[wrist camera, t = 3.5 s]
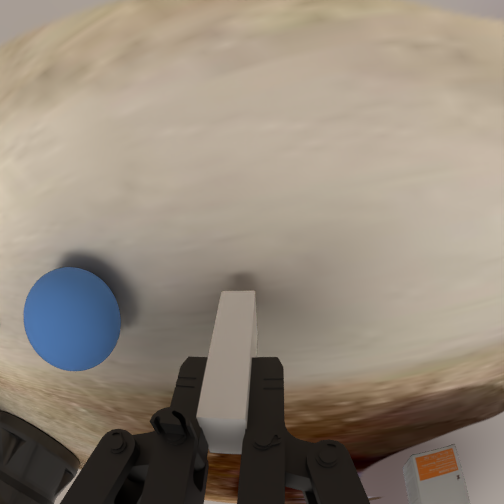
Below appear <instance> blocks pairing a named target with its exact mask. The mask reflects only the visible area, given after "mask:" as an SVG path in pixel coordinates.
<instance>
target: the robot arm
mask: <svg viewBox="0 0 504 504" xmlns="http://www.w3.org/2000/svg"><path fill="white" fill-rule="evenodd" d="M257 341H258V330H257V314H256V299H255V291H221V296H220V301H219V306H218V310H217V315H216V320H215V325H214V330H213V335H212V339H211V344H210V349H209V354H208V357H188V358H187V359H186V360H185V362H184V363H183V364H182V365H181V367H180V371H179V375H178V379H177V382H176V387H175V390H174V394H173V398H172V401H171V405H170V407H168V408H164V409H161V410H159V411H157V412H156V413H155V414H154V415H153V416H152V418H151V420H150V423H151V424H152V426H153V428H154V429H155V431H153V432H149V433H144V434H137V435H131V434H130V433H129V432H127V431H126V430H122V429H115V430H111V431H109V432H107V433H106V434H105V435H104V436H103V437H102V439H101V440H100V442H99V443H98V445H97V447H96V448H95V450H94V451H93V453H92V454H91V456H90V457H89V459H88V460H87V462H86V464H85V465H84V467H83V468H82V470H81V471H80V473H79V475H78V476H77V478H76V479H75V481H74V482H73V484H72V486H71V487H70V489H69V490H68V492H67V493H66V495H65V497H64V498H63V500H62V501H61V503H60V504H203V503H204V496H205V489H206V482H207V474H208V467H209V466H208V460H207V453H208V448H209V451H210V452H211V453H226V454H241V465H240V477H239V489H238V500H237V504H284V502H285V486H287V487H290V488H294V489H298V490H302V491H303V494H304V497H305V501H306V504H370V502H369V500H368V497H367V495H366V493H365V491H364V488H363V485H362V483H361V481H360V478H359V476H358V474H357V471H356V469H355V466H354V464H353V462H352V459H351V457H350V455H349V452H348V450H347V449H346V448H345V446H344V445H343V444H341V443H339V442H338V441H334V440H322V441H319V442H317V443H311V442H307V441H303V440H300V439H297V438H295V437H294V436H292V435H291V434H290V433H289V432H288V431H287V429H286V427H285V423H284V376H283V366H282V364H281V362H280V360H279V359H278V357H257ZM79 465H80V463H79V461H78V459H77V458H76V457H75V456H74V455H73V454H72V453H71V452H69V451H68V450H67V449H66V448H65V447H63V446H62V445H61V444H59V443H58V442H56V441H55V440H53V439H52V438H51V437H49V436H48V435H46V434H44V433H43V432H41V431H40V430H38V429H36V428H35V427H33V426H31V425H30V424H28V423H26V422H24V421H23V420H21V419H19V418H17V417H15V416H13V415H10V414H8V413H5V412H1V411H0V504H54V502H55V499H56V498H57V496H58V495H59V494H60V493H61V492H62V491H63V490H64V488H65V487H66V486H67V485H68V484H69V483H70V482H71V480H72V479H73V478H74V477H75V475H76V474H77V471H78V468H79Z"/></svg>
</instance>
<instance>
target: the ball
mask: <svg viewBox="0 0 504 504" xmlns="http://www.w3.org/2000/svg"><path fill="white" fill-rule="evenodd" d="M24 326H25V331H26V334H27V337H28V339H29V341H30V343H31V345H32V346H33V348H34V350H35V351H36V352H37V353H38V354H39V356H40V357H42V358H43V359H44V360H45V361H46V362H48V363H49V364H51V365H53V366H55V367H57V368H60V369H63V370H67V371H82V370H87V369H90V368H93V367H95V366H97V365H98V364H100V363H101V362H103V361H104V360H105V359H106V358H107V357H108V356H109V355H110V354H111V352H112V351H113V349H114V347H115V345H116V343H117V340H118V338H119V333H120V327H121V318H120V311H119V307H118V304H117V301H116V299H115V297H114V295H113V293H112V291H111V290H110V289H109V287H108V286H107V285H106V284H105V283H104V282H103V281H102V280H101V279H100V278H99V277H97V276H96V275H94V274H93V273H91V272H89V271H86V270H83V269H80V268H73V267H64V268H59V269H55V270H53V271H50V272H48V273H47V274H45V275H44V276H42V277H41V278H40V279H39V280H38V281H37V282H36V283H35V284H34V286H33V287H32V288H31V290H30V292H29V294H28V296H27V299H26V302H25V307H24Z"/></svg>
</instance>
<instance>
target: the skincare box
mask: <svg viewBox="0 0 504 504" xmlns="http://www.w3.org/2000/svg"><path fill="white" fill-rule="evenodd" d="M403 473H404V478H405V484H406V490H407V496H408V501H409V504H470V500H469V496H468V491H467V487H466V483H465V479H464V475H463V471H462V467H461V464H460V460H459V457H458V453H457V450H456V446H455V444H452V445H450V446H447V447H443V448H440V449H436V450H432V451H428V452H424V453H419V454H413V455H411V456H410V458H409V460H408V461H407V462H406V464H405V465H404V467H403Z"/></svg>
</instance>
